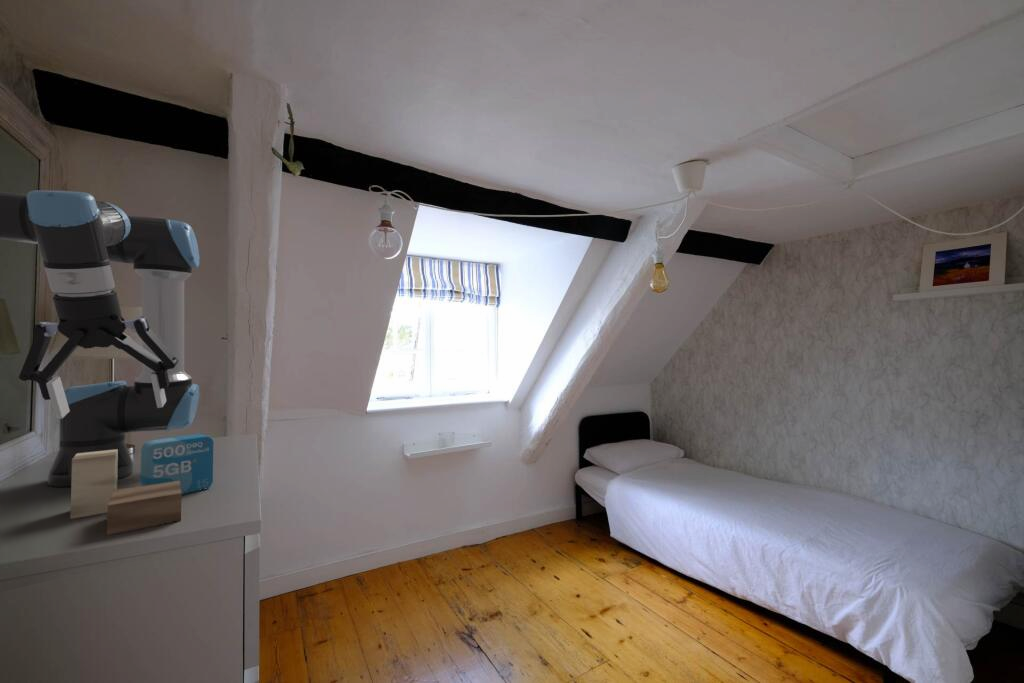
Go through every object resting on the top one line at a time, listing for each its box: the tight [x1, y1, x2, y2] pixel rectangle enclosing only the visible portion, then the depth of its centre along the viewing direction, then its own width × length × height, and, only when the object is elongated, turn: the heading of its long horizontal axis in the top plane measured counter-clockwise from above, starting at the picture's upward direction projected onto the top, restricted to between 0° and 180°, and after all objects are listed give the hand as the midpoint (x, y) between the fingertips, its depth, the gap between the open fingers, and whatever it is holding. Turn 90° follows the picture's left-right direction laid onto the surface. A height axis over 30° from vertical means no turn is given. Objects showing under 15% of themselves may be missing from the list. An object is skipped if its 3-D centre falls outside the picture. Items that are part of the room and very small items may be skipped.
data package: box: [140, 433, 214, 495], centre depth 96 cm, size 12×4×12 cm, turn 144°
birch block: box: [70, 449, 118, 520], centre depth 85 cm, size 6×6×11 cm
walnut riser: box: [106, 481, 182, 536], centre depth 81 cm, size 10×10×5 cm
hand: (114, 409), depth 77 cm, fingers open, 13 cm apart
